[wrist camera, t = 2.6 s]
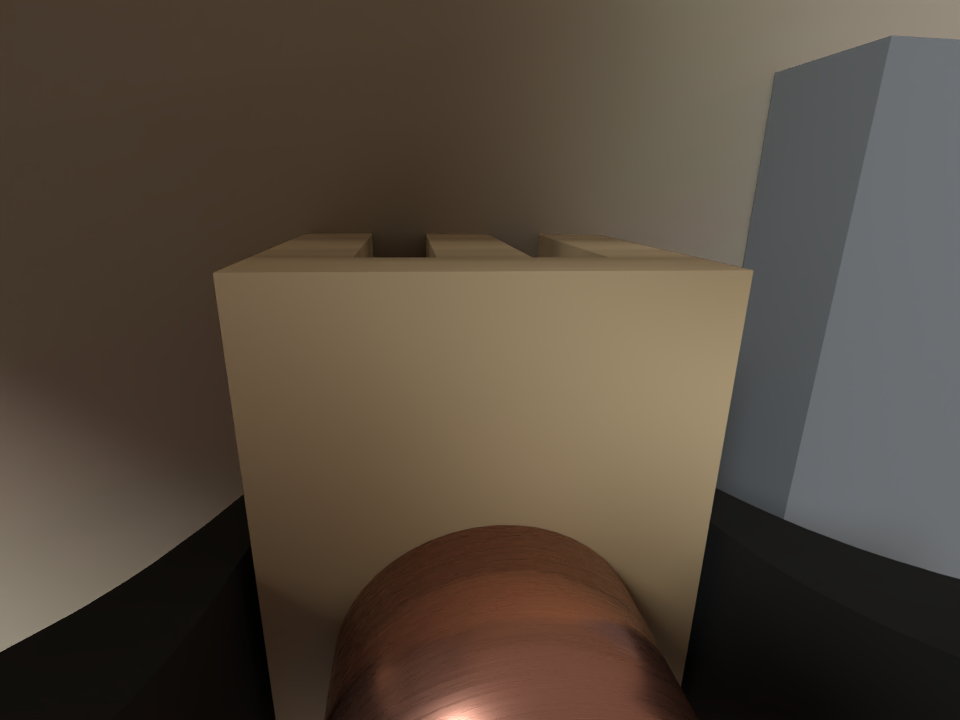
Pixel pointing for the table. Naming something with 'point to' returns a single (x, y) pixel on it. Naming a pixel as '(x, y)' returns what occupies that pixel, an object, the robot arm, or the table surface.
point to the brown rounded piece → (500, 637)
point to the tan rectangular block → (472, 417)
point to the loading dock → (856, 306)
